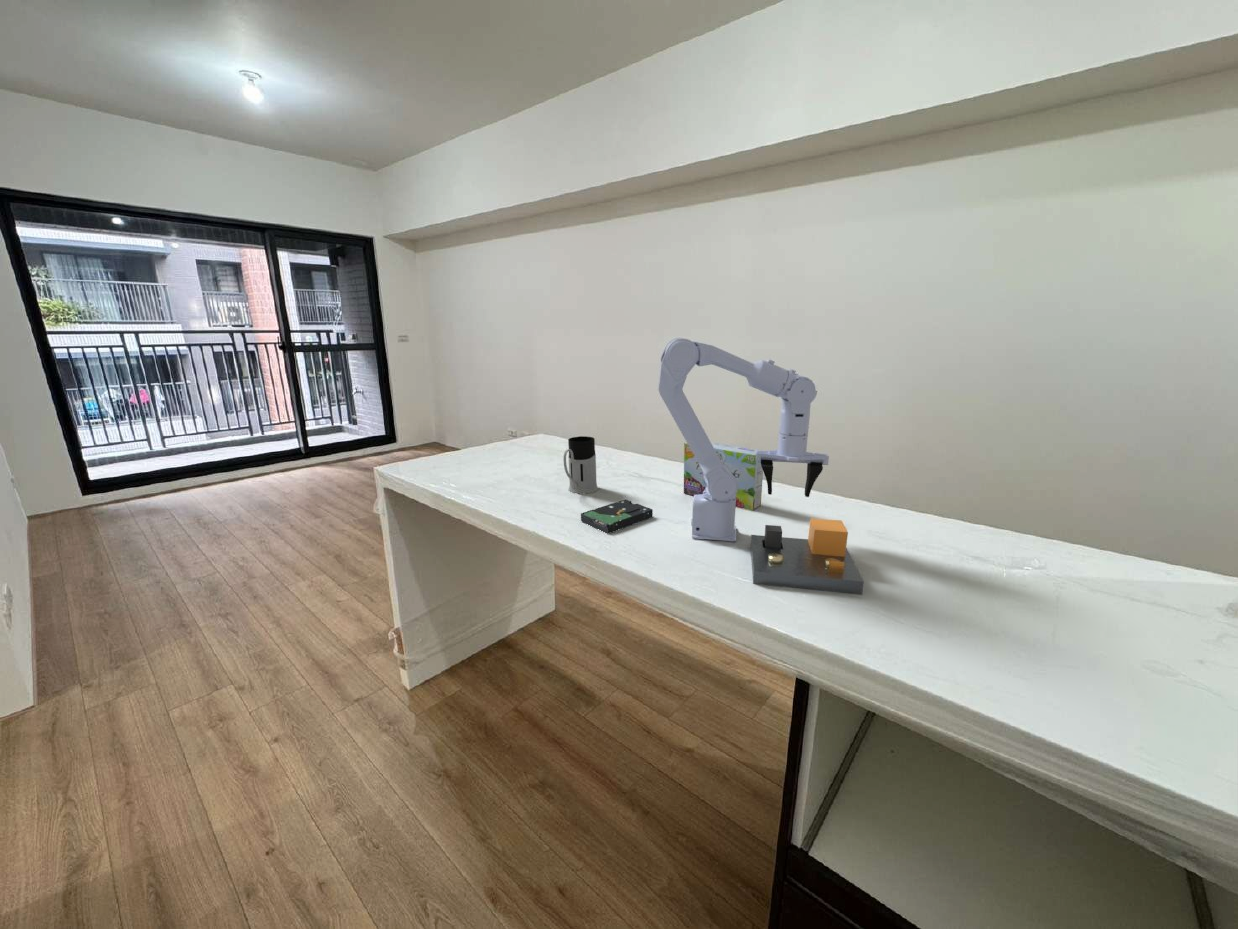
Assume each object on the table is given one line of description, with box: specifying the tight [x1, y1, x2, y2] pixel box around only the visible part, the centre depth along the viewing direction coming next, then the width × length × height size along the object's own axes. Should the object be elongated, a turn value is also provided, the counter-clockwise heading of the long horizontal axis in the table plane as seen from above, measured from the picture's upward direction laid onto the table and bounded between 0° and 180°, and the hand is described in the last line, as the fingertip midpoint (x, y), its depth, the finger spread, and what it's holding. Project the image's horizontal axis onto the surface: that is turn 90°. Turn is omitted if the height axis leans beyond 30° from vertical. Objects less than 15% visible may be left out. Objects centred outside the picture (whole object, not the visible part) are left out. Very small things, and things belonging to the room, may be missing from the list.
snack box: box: [683, 441, 764, 512], centre depth 126 cm, size 21×6×15 cm, turn 49°
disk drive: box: [580, 499, 654, 535], centre depth 115 cm, size 10×3×15 cm
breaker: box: [764, 524, 783, 549], centre depth 94 cm, size 3×3×4 cm
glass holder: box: [563, 435, 599, 495], centre depth 134 cm, size 9×14×15 cm, turn 156°
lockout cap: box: [807, 517, 849, 557], centre depth 92 cm, size 6×6×5 cm
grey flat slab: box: [750, 534, 865, 595], centre depth 90 cm, size 18×16×4 cm
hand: (788, 494), depth 103 cm, fingers open, 7 cm apart
